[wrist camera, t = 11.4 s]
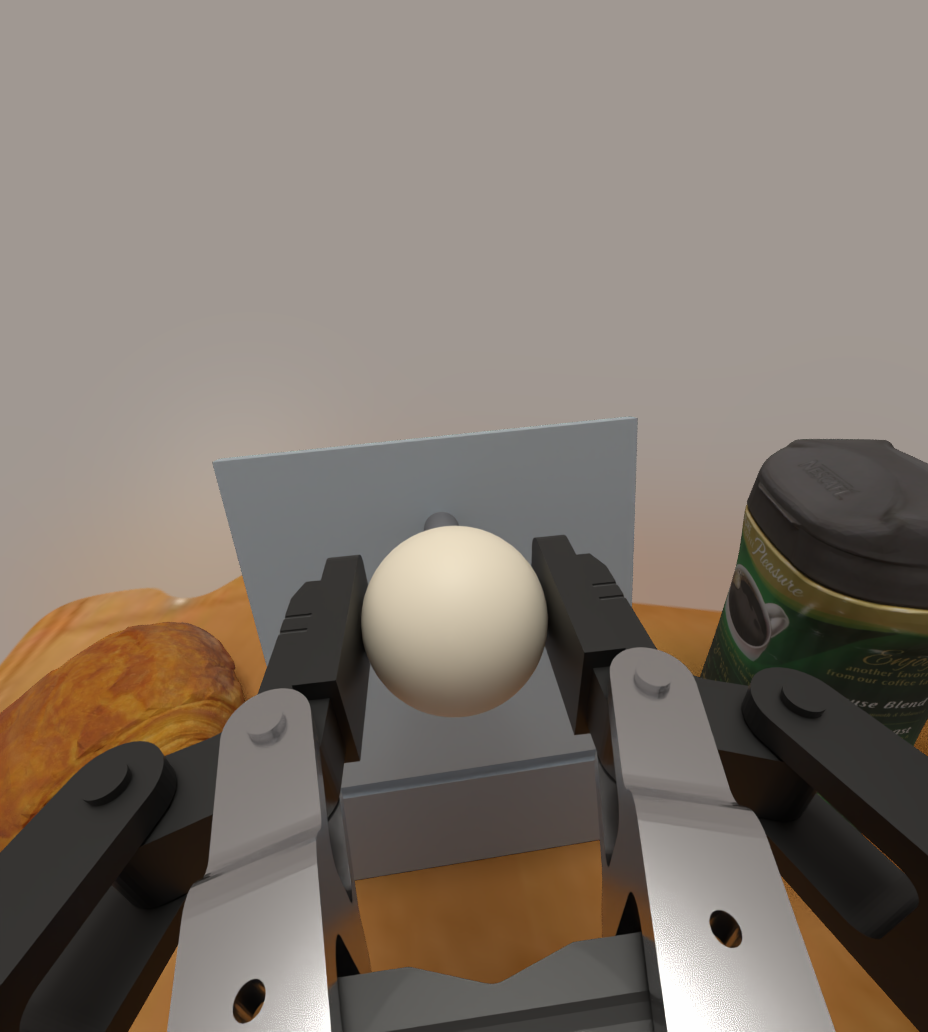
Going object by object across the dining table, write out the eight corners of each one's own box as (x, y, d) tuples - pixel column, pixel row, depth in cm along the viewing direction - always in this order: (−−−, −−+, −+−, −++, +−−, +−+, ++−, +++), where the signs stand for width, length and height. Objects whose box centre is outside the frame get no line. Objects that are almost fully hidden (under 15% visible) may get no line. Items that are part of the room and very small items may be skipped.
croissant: (227, 656, 40) (194, 577, 37) (282, 767, 28) (241, 665, 25) (13, 757, 32) (-50, 668, 29) (-36, 970, 20) (-149, 857, 17)
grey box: (611, 837, 23) (625, 755, 20) (339, 882, 22) (305, 804, 19) (540, 642, 36) (542, 570, 32) (362, 666, 35) (344, 595, 31)
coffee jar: (902, 855, 22) (1168, 528, 13) (726, 832, 23) (853, 522, 14) (805, 691, 30) (925, 422, 21) (679, 681, 32) (740, 424, 22)
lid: (621, 733, 20) (765, 989, 12) (304, 781, 19) (217, 1094, 11) (629, 416, 16) (866, 465, 7) (220, 458, 15) (-33, 569, 7)
